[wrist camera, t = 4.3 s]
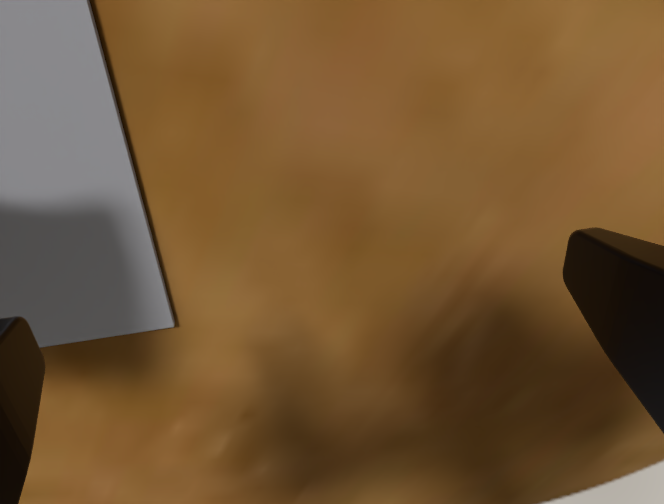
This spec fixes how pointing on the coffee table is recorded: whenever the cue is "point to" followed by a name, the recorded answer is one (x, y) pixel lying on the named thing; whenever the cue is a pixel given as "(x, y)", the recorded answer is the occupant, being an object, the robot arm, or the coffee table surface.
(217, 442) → the coffee table surface
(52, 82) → the mat
